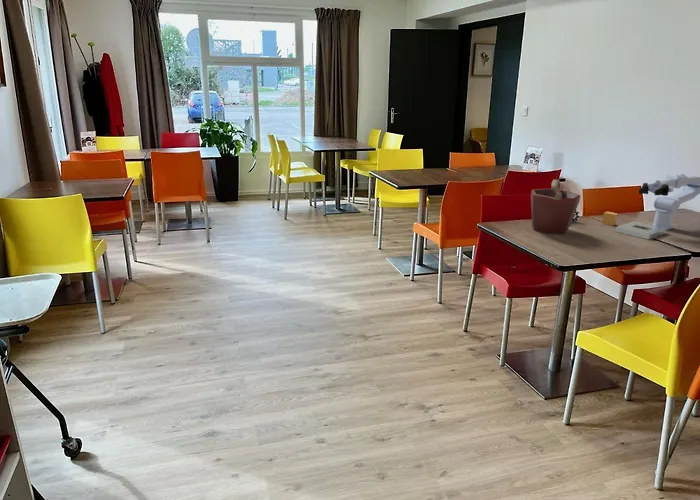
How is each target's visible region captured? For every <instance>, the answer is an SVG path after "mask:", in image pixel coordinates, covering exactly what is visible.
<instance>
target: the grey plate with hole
mask: <svg viewBox="0 0 700 500" xmlns="http://www.w3.org/2000/svg"><path fill="white" fill-rule="evenodd" d="M667 231H668V230H667V228H663V227H658V226H654V225H653V224H648V223H643V222H640V221H636V220H633V221H630V222H627V223H623V224H621V225H617V226H616V227H615V232H617V233H619V234H624V235H628V236H633V237H636V238H640V239H645V240H652V239H655V238H657V237H659V235H660V236H663V235H664V234H666V233H667Z"/></svg>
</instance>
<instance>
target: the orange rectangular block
mask: <svg viewBox="0 0 700 500" xmlns="http://www.w3.org/2000/svg"><path fill="white" fill-rule="evenodd" d="M618 215H619V213H617V212H612V211H605V212H603V216H602V220H601V221H602V222H601V224H603V225H607V226H612V227H613V226H615V225H617V220H618V217H619V216H618Z"/></svg>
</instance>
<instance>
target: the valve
mask: <svg viewBox="0 0 700 500" xmlns="http://www.w3.org/2000/svg"><path fill="white" fill-rule="evenodd" d="M579 214H580V212H579V211H577V210H576V211H575V213H574V216H573V218H572V221H571V222H576V221H577V222H578V221H579V220H578V219H579V218H580V215H579Z"/></svg>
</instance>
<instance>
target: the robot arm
mask: <svg viewBox="0 0 700 500" xmlns="http://www.w3.org/2000/svg"><path fill="white" fill-rule="evenodd" d="M682 187H683V188H682ZM680 188H682V191H681V192H678V193H676V194H674V195H671V196H668V195H669V193H672V192H673V193H674V189H678V190H679V189H680ZM649 192H650V193H652V194H654V196H658V197H655V199H654V201H653V207H654V210H655V215H654V218H653V224H652V225H654V226H658V227H663V228H667V230H666V231H668V230H670V229H673V228H674V227H673V226H672V223H673V219H674V213H675V212H676V211H677V210H678V209H679V208H680V206H681V204H684V203H687V202H688V201H690V200H693V199H695V198H696V197H697V196H698V195H700V177H699V176H693V175H686V174H682V173H681V174H680V175H679V174H675V176H674V175H667V176H666V177H665V178H664V179H662V180H659V179H656V180H655V182H653V183H652V182H651V183H648V182H643V183H642V186H641V187H640V188H639V189H638V194H639V195H641V194H642V195H643V194H644V195H649Z"/></svg>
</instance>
